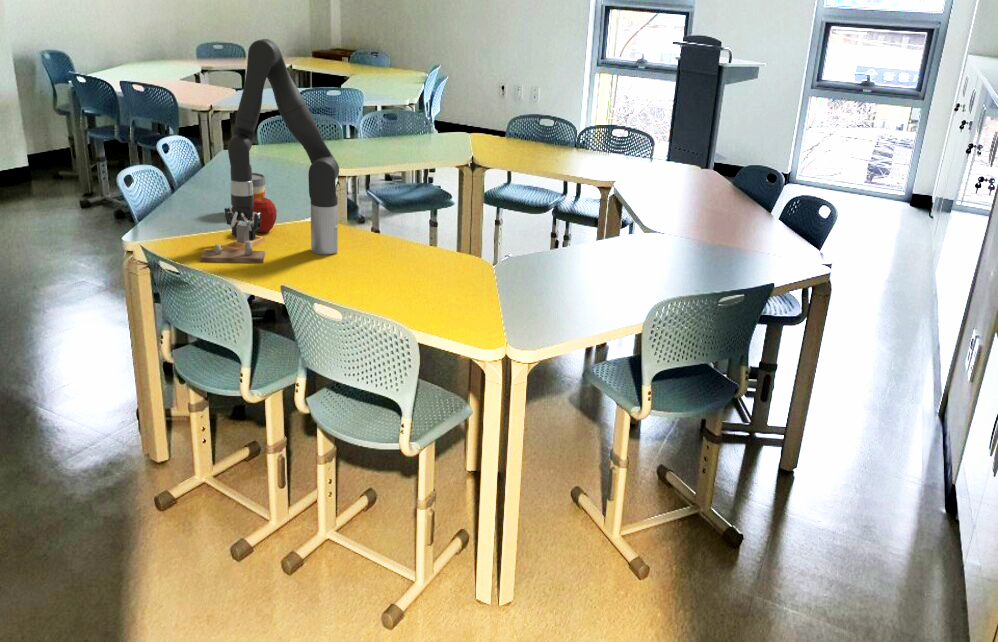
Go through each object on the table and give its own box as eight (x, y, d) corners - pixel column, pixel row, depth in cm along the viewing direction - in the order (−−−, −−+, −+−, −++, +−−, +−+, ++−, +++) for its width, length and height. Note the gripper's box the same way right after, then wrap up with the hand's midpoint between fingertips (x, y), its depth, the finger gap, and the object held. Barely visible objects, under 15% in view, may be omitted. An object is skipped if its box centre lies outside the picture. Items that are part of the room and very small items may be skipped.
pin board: (265, 255, 294) (264, 238, 292) (262, 262, 287) (262, 245, 284) (204, 253, 290) (203, 237, 288) (201, 261, 283) (199, 244, 281)
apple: (246, 228, 320) (244, 192, 314) (273, 226, 324) (272, 191, 319) (252, 236, 311) (251, 199, 306) (280, 234, 316) (279, 198, 311)
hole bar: (250, 238, 309) (250, 218, 307) (264, 241, 308) (264, 221, 305) (222, 250, 295) (221, 229, 293) (237, 253, 294) (236, 232, 291)
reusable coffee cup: (258, 207, 346) (256, 171, 341) (272, 215, 338) (271, 178, 332) (228, 211, 339) (226, 174, 333) (242, 219, 330) (240, 181, 324)
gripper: (217, 191, 293) (220, 237, 299) (253, 198, 289) (254, 244, 295) (231, 187, 299) (233, 232, 306) (266, 193, 295) (267, 239, 302)
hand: (243, 238), depth 301 cm, fingers open, 6 cm apart
